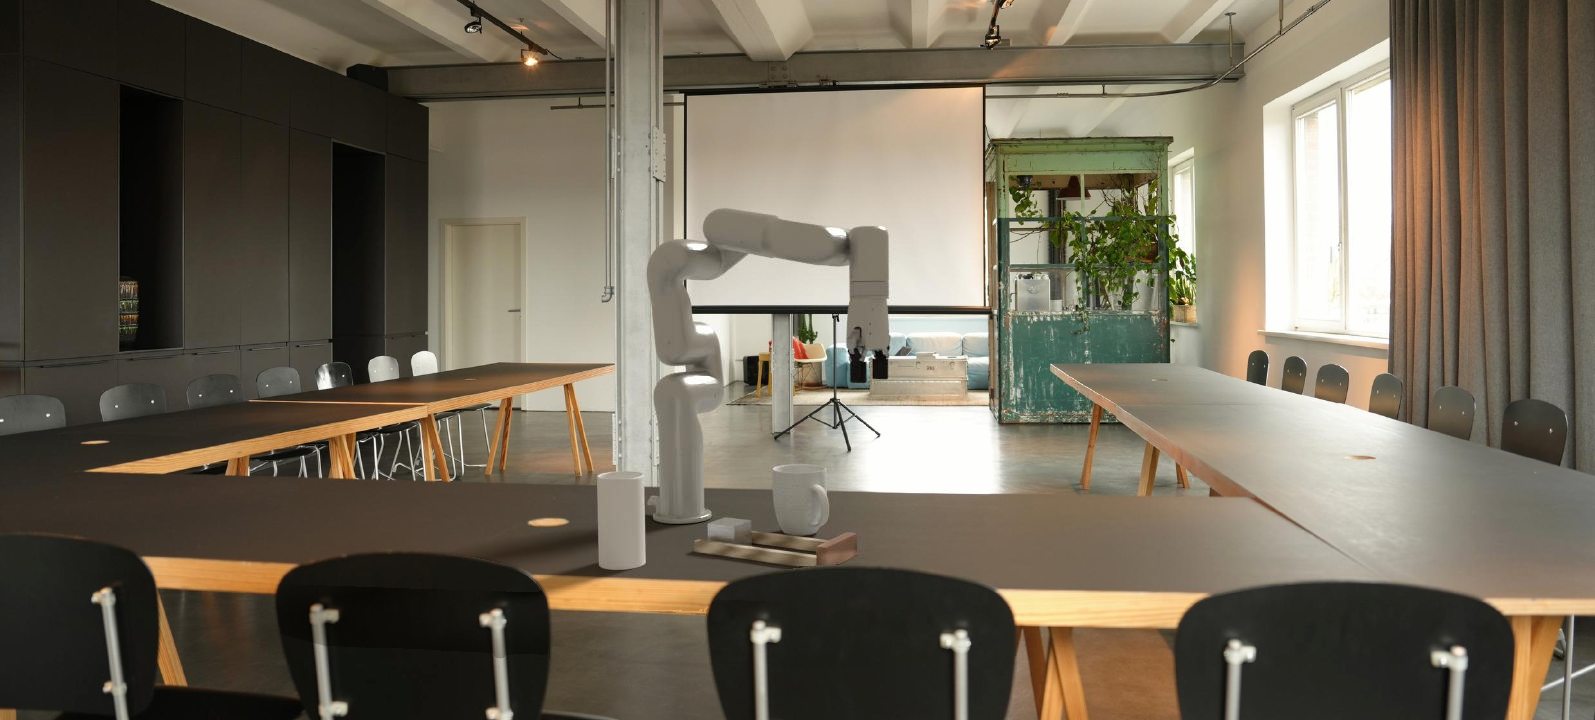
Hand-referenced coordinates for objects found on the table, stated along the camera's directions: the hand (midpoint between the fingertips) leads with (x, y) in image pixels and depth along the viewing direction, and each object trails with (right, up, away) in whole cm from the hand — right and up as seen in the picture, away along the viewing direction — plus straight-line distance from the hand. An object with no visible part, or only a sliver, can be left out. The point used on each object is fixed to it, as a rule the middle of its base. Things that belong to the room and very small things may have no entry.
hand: (869, 380), depth 184 cm
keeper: (-27, -32, -1) cm, 42 cm away
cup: (-45, -33, -12) cm, 57 cm away
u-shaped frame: (-18, -32, -6) cm, 37 cm away
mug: (-13, -31, +9) cm, 35 cm away
